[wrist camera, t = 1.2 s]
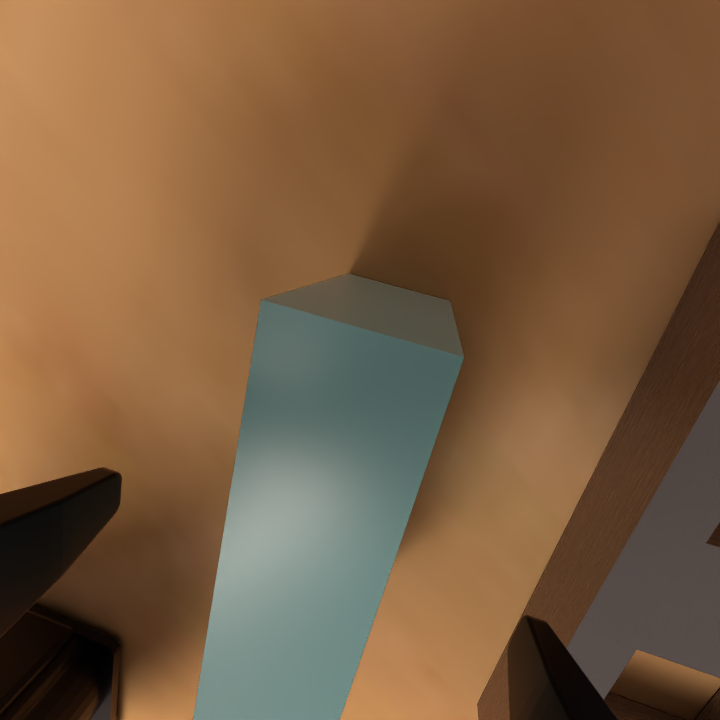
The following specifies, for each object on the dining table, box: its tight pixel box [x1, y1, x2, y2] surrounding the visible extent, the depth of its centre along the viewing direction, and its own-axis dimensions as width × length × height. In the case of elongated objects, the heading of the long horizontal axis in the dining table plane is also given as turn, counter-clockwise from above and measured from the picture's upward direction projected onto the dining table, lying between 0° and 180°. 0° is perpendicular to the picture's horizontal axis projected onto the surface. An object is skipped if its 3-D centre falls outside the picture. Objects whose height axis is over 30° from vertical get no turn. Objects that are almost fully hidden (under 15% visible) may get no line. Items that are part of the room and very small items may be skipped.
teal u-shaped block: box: [193, 274, 464, 720], centre depth 10 cm, size 10×3×6 cm, turn 166°
